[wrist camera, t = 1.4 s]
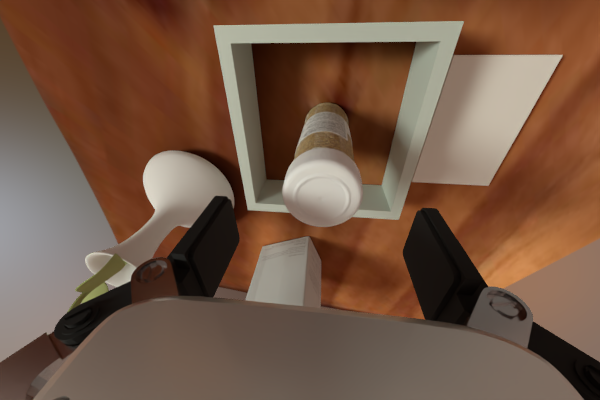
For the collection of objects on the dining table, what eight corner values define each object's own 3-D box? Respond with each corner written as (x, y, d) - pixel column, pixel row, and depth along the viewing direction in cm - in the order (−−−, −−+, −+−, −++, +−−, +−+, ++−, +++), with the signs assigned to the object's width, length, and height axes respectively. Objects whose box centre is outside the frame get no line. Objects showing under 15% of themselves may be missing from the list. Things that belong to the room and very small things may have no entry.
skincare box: (277, 267, 38) (252, 372, 26) (261, 243, 35) (224, 350, 23) (324, 259, 36) (321, 371, 24) (311, 232, 32) (299, 346, 20)
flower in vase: (206, 229, 35) (32, 496, 14) (138, 177, 30) (-250, 458, 10) (264, 187, 29) (109, 537, 9) (191, 115, 24) (-489, 492, 4)
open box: (238, 28, 19) (213, 25, 15) (433, 25, 18) (463, 21, 14) (259, 185, 29) (247, 210, 25) (388, 192, 27) (398, 219, 23)
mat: (450, 54, 19) (454, 55, 18) (556, 54, 18) (563, 55, 17) (410, 179, 26) (412, 182, 25) (485, 182, 25) (488, 185, 24)
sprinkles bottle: (339, 150, 25) (345, 238, 14) (299, 138, 24) (273, 218, 14) (355, 108, 22) (379, 176, 11) (311, 94, 22) (290, 151, 11)
